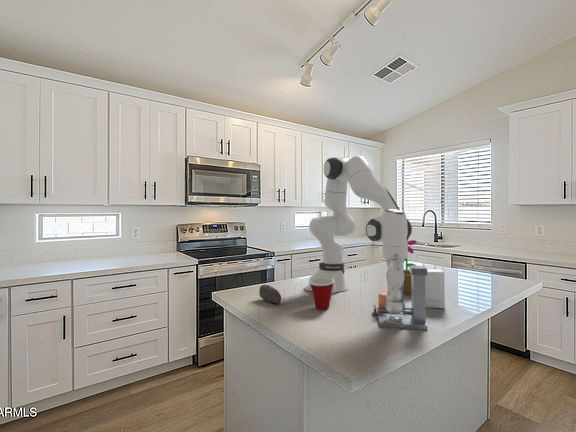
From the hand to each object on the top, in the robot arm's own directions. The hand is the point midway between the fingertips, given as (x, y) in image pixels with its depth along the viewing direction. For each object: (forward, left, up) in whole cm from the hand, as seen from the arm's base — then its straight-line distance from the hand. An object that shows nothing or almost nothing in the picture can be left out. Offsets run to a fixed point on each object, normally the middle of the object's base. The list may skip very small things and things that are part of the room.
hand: (395, 290), depth 113 cm
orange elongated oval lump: (-4, +9, -11) cm, 15 cm away
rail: (+2, +9, -12) cm, 15 cm away
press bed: (+2, +1, -12) cm, 12 cm away
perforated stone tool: (-53, +16, -12) cm, 57 cm away
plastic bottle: (0, 0, -9) cm, 9 cm away
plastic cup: (-29, +12, -12) cm, 34 cm away
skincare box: (+18, +24, -12) cm, 32 cm away
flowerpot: (+10, +45, -12) cm, 48 cm away
